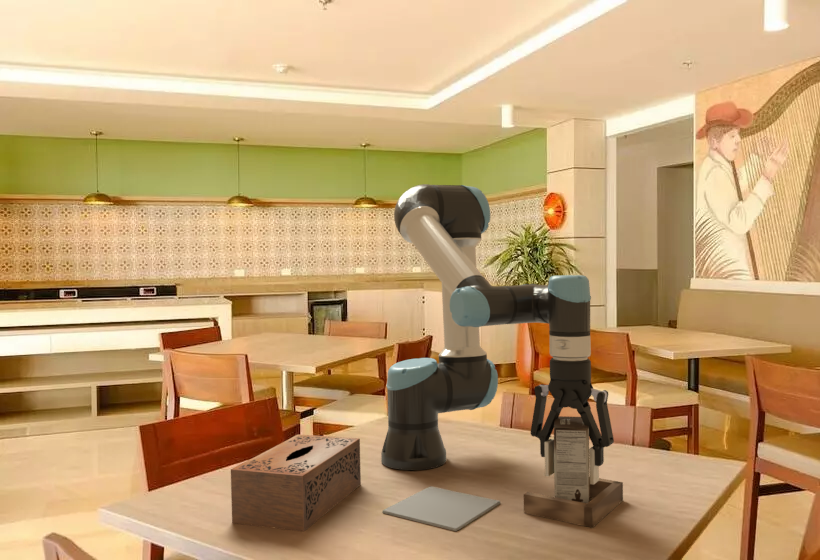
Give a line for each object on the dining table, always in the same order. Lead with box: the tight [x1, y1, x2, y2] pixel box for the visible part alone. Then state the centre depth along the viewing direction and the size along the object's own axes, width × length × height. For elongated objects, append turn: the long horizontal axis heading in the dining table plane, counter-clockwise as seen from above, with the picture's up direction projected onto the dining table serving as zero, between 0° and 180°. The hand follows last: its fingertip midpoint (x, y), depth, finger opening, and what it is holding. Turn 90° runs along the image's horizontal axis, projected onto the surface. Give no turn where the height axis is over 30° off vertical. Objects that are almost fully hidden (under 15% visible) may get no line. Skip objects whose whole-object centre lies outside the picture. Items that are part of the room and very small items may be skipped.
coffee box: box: [553, 415, 591, 503], centre depth 129 cm, size 9×6×16 cm
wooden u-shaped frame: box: [523, 476, 624, 528], centre depth 129 cm, size 13×16×4 cm
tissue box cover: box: [230, 433, 362, 532], centre depth 134 cm, size 26×14×10 cm, turn 162°
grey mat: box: [382, 486, 501, 532], centre depth 129 cm, size 16×16×1 cm
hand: (571, 478), depth 129 cm, fingers closed on coffee box, 8 cm apart
